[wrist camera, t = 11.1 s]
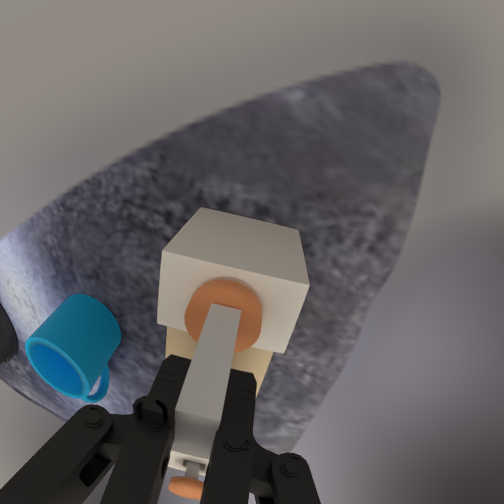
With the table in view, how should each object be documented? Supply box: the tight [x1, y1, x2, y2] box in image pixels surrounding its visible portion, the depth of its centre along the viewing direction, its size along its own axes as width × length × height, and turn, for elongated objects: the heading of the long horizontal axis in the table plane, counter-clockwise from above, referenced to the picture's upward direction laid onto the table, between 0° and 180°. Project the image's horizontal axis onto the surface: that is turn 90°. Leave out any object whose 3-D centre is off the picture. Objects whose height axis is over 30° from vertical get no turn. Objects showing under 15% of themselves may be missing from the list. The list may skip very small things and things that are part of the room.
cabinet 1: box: [168, 445, 210, 475], centre depth 29 cm, size 8×5×9 cm, turn 77°
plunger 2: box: [184, 280, 262, 353], centre depth 17 cm, size 4×4×5 cm
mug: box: [25, 294, 121, 403], centre depth 27 cm, size 12×8×8 cm
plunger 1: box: [168, 461, 204, 499], centre depth 24 cm, size 4×4×5 cm
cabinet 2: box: [157, 207, 310, 353], centre depth 21 cm, size 8×5×9 cm, turn 77°
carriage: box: [165, 326, 273, 396], centre depth 23 cm, size 7×6×8 cm
